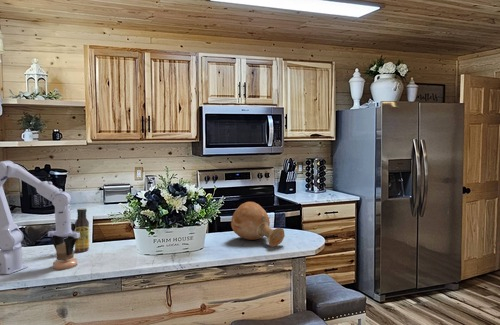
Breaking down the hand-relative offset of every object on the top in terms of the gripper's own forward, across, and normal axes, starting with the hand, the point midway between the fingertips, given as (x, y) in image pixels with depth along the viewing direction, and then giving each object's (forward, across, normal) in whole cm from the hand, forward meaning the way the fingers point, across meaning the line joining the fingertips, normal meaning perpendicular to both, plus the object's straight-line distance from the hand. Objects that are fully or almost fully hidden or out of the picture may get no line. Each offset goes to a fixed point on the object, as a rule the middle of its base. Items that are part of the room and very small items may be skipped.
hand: (64, 254), depth 163 cm
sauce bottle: (+5, +9, -21) cm, 23 cm away
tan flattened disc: (+5, 0, 0) cm, 5 cm away
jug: (+5, -66, -56) cm, 87 cm away
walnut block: (+2, 0, 0) cm, 2 cm away
